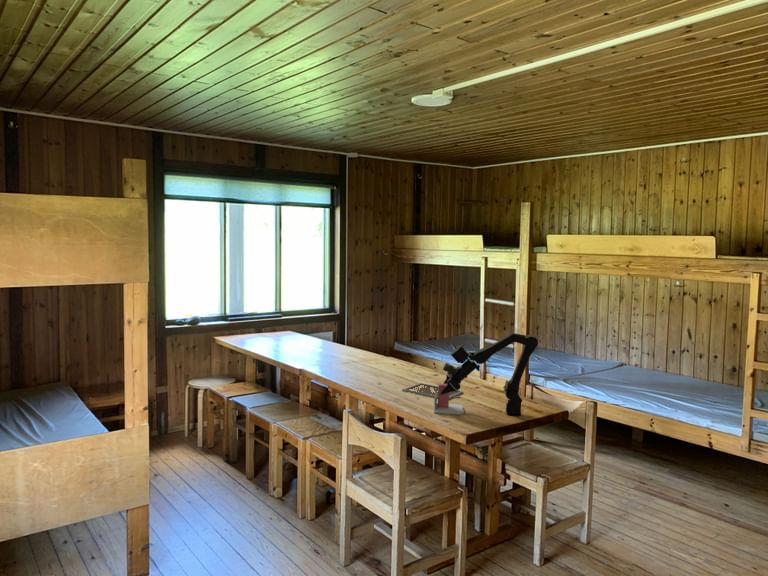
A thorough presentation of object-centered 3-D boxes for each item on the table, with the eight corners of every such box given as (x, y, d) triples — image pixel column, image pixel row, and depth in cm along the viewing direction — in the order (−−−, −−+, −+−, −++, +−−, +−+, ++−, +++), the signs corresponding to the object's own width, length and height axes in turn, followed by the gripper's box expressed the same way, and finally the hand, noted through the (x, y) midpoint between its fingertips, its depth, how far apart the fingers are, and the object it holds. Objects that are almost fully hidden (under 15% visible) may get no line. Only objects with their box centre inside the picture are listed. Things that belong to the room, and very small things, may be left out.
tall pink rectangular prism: (447, 406, 279) (449, 383, 278) (448, 408, 275) (449, 385, 274) (437, 405, 279) (438, 383, 278) (437, 407, 275) (439, 385, 275)
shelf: (462, 407, 282) (462, 392, 282) (463, 414, 271) (464, 399, 270) (433, 405, 283) (434, 391, 283) (434, 412, 272) (434, 397, 271)
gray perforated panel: (420, 382, 325) (467, 392, 308) (420, 385, 325) (467, 395, 308) (402, 389, 309) (451, 399, 292) (402, 392, 309) (451, 402, 292)
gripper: (452, 354, 284) (429, 374, 286) (454, 361, 266) (429, 383, 267) (467, 370, 284) (444, 391, 286) (470, 379, 266) (445, 401, 267)
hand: (440, 391), depth 277 cm, fingers open, 9 cm apart
